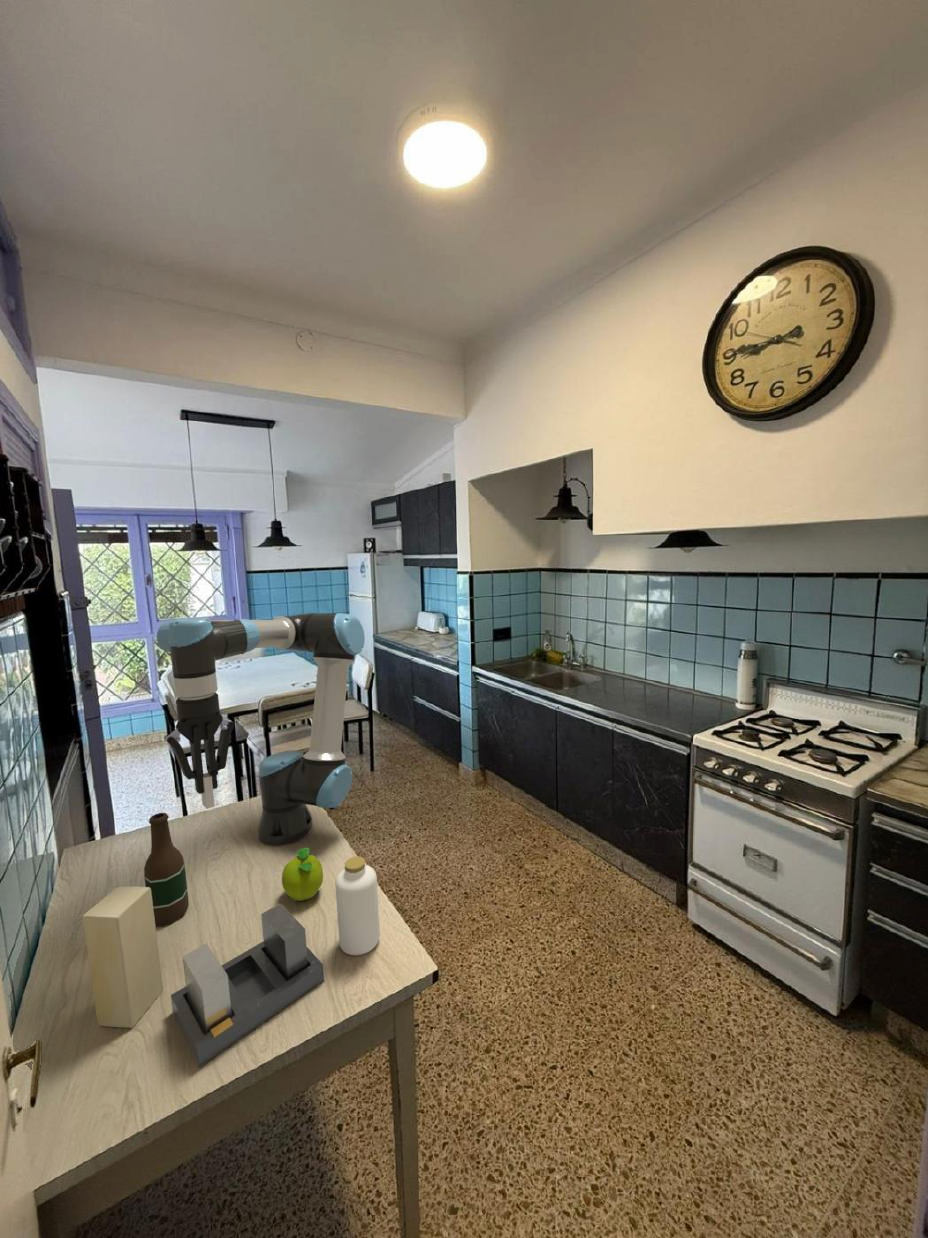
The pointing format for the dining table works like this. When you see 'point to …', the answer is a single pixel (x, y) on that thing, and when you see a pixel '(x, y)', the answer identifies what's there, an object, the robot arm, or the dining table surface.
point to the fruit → (302, 876)
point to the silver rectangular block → (206, 988)
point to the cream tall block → (123, 956)
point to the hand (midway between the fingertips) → (208, 805)
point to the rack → (256, 985)
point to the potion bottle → (357, 907)
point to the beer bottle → (165, 874)
